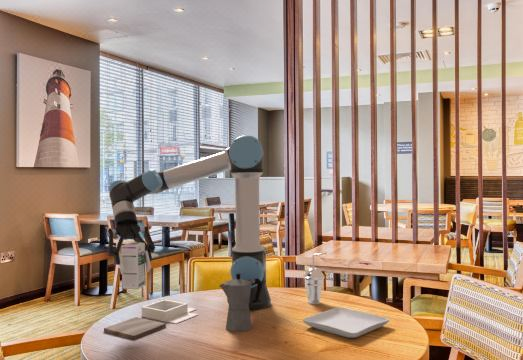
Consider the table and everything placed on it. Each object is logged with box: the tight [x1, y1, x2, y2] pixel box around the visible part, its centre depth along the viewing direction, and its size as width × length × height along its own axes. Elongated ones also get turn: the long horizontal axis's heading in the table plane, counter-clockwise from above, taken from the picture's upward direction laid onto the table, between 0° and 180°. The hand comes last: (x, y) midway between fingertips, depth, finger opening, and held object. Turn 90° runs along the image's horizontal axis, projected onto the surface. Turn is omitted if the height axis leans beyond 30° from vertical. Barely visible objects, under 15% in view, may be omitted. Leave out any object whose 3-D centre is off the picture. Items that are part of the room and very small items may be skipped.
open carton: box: [141, 299, 199, 325], centre depth 173 cm, size 17×17×4 cm
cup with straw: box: [302, 252, 327, 305], centre depth 186 cm, size 8×9×20 cm
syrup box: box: [121, 241, 147, 290], centre depth 156 cm, size 6×6×14 cm
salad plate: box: [302, 306, 390, 339], centre depth 156 cm, size 21×21×3 cm
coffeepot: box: [219, 273, 263, 333], centre depth 157 cm, size 15×9×18 cm, turn 115°
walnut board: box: [103, 316, 167, 340], centre depth 156 cm, size 14×14×1 cm
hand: (136, 270), depth 153 cm, fingers closed on syrup box, 8 cm apart
